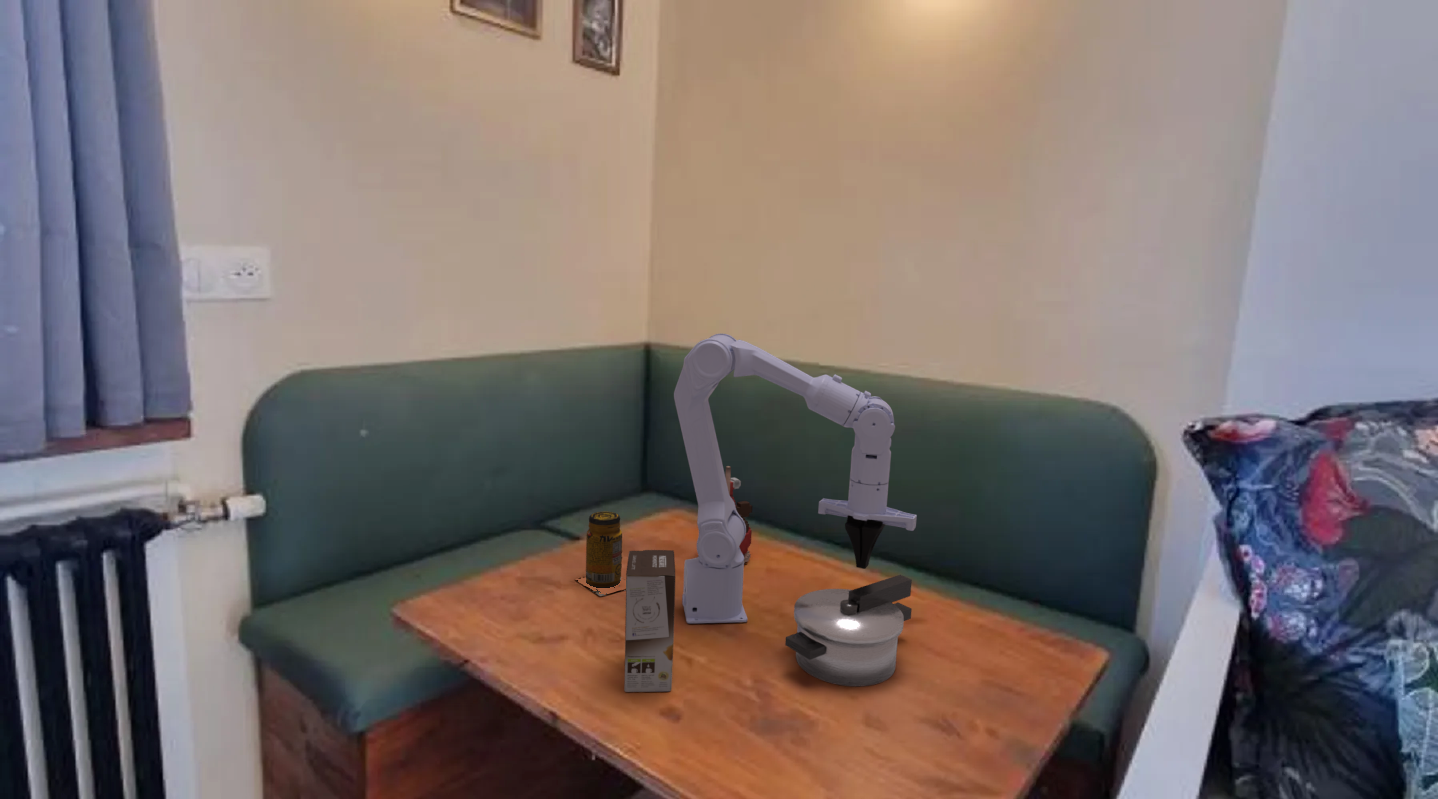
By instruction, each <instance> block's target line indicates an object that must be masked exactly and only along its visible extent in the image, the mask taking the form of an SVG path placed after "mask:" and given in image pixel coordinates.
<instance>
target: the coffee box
mask: <svg viewBox="0 0 1438 799" xmlns="http://www.w3.org/2000/svg"><path fill="white" fill-rule="evenodd" d="M675 560H676V559H675V550H668V549H645V550H629V552H628V555H627V565H626V573H625V578H626V590H625V624H624V625H625V626H624V627H625V628H624V629H625V631H624V632H625V633H624V639H625V640H624V641H625V642H624V688H623V690H624V692H625V693H635V692H636V693H637V692H639V693H642V692H643V693H645V692H647V693H648V692H649V693H651V692H653V693H654V692H656V693H657V692H671V691H672V684H673V662H674V639H675V638H674V636H675V611H676V610H675V608H676V607H675V606H676V605H675V604H676V602H675V601H676V565H675V564H676V563H675V562H676V561H675Z"/></svg>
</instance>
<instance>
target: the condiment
mask: <svg viewBox="0 0 1438 799" xmlns="http://www.w3.org/2000/svg"><path fill="white" fill-rule="evenodd" d="M585 536H586V543H585V544H586V545H585V546H586V549H585V550H586V551H585V553H586V554H585V577H586V583H587V584H589V585H590V586H593V587H596V588H610V587H614V586H616V585H618V584H619V583H620V581H621V578H622V566H623V565H622V560H623V531H622V529H621V517H620V515H619V514H618V513H616V512H613V511H604V510H603V511H596V512H593V513H592V514H590V516H588V529H587V531H586V535H585ZM614 588H615V587H614ZM591 590H592V589H589V591H591ZM596 590H597V589H596ZM591 592H593V593H594V592H596V593H595V594H596V595H598V596H599V597H602V596H605V595H604V594H599V592H600V591H598V590H597V591H591ZM600 593H601V592H600ZM606 594H607V593H606Z"/></svg>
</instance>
